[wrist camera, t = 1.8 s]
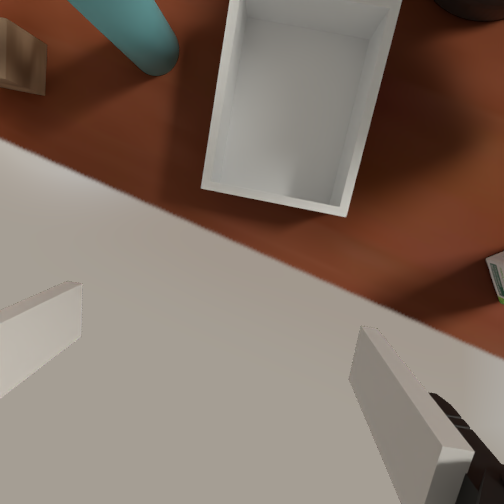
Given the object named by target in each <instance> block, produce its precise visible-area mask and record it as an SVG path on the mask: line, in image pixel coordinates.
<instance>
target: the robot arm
mask: <svg viewBox="0 0 504 504" xmlns="http://www.w3.org/2000/svg"><path fill="white" fill-rule="evenodd" d="M434 1H435V2H436V3H437V4H438V5H440V6H441V7H442V8H443V9H445V10H446V11H448V12H450V13H452V14H454V15H456V16H458V17H461V18H464V19H468V20H474V21H493V20H499V19H504V0H434ZM82 291H83V283H77V282H70V281H66V282H63V283H61V284H59V285H57V286H54V287H52V288H50V289H47V290H45V291H43V292H40V293H38V294H36V295H34V296H31V297H29V298H27V299H24V300H22V301H20V302H18V303H15V304H13V305H11V306H8V307H6V308H4V309H1V310H0V399H1V398H2V397H3V396H4V395H5V394H7V393H8V392H10V391H11V390H12V389H13V388H15V387H16V386H18V385H19V384H20V383H21V382H23V381H24V380H25V379H27V378H28V377H29V376H30V375H32V374H33V373H35V372H36V371H37V370H38V369H40V368H41V367H42V366H44V365H45V364H46V363H48V362H49V361H50V360H52V359H53V358H54V357H56V356H57V355H58V354H59V353H61V352H62V351H63V350H65V349H66V348H67V347H68V346H70V345H71V344H72V343H74V342H75V341H76V340H78V339H79V338H80V337H81V335H82ZM349 381H350V383H351V386H352V388H353V390H354V393H355V395H356V398H357V400H358V402H359V405H360V407H361V410H362V412H363V414H364V417H365V419H366V421H367V424H368V426H369V428H370V431H371V433H372V436H373V438H374V440H375V443H376V445H377V448H378V450H379V452H380V455H381V457H382V460H383V462H384V464H385V467H386V469H387V471H388V474H389V476H390V479H391V481H392V483H393V486H394V488H395V490H396V493H397V495H398V498H399V500H400V502H401V504H504V465H503V464H501V463H500V462H499V461H498V460H497V458H496V457H495V456H494V455H493V454H492V452H491V451H490V450H489V449H488V448H487V447H486V446H485V444H484V443H483V442H482V441H481V440H480V439H479V437H478V436H477V435H476V434H475V433H474V431H473V430H470V427H469V425H468V424H467V423H466V422H465V421H464V420H463V419H461V416H460V415H459V414H458V413H457V411H456V410H455V409H454V408H453V407H452V406H451V405H450V404H449V403H448V402H446V401H445V400H444V399H443V398H441V397H440V396H438V395H437V394H435V393H428V392H427V391H426V389H425V388H424V387H423V385H422V384H421V383H420V382H419V380H418V379H417V378H416V377H415V375H414V374H413V373H412V372H411V370H410V369H409V368H408V366H407V365H406V364H405V363H404V361H403V360H402V359H401V358H400V356H399V355H398V354H397V352H396V351H395V350H394V349H393V348H392V346H391V345H390V344H389V342H388V341H387V340H386V339H385V337H384V336H383V335H382V334H381V332H380V331H379V330H378V329H377V328H372V327H365V326H361V327H360V331H359V336H358V340H357V344H356V349H355V353H354V358H353V362H352V367H351V371H350V376H349Z"/></svg>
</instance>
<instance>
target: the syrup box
mask: <svg viewBox="0 0 504 504" xmlns="http://www.w3.org/2000/svg"><path fill="white" fill-rule="evenodd" d="M486 262H487V264H488V268H489V270H490V275H491V278H492V281H493V284H494V287H495V290H496V293H497V296H498V299H499V302H500V303H501V304H504V251H503V252H500V253H498V254H495V255H493V256H490V257H488V258H486Z"/></svg>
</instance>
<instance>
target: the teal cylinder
mask: <svg viewBox="0 0 504 504" xmlns="http://www.w3.org/2000/svg"><path fill="white" fill-rule="evenodd" d="M68 1H69V2H70V3H71V4H72V5H73V6H74V7H75V8H76V9H77V10H78V11H79V12H80V13H81V14H82V15H83V16H85V17H86V18H87V19H88V20H89V21H90V22H91V23H92V24H93V25H94V26H95V27H96V28H97V29H98V30H99V31H100V32H101V33H103V34H104V35H105V36H106V37H107V38H108V39H109V40H110V41H111V42H112V43H113V44H114V45H115V46H116V47H117V48H118V49H120V50H121V51H122V52H123V53H124V54H125V55H126V56H127V57H128V58H129V59H130V60H131V61H132V62H133V63H134V64H135V65H136V66H138V67H139V68H140V69H141V70H142V71H143V72H145V73H146V74H149V75H152V76H160V75H164V74H166V73H168V72H169V71H170V70H171V69H172V68H173V67H174V66H175V64H176V62H177V60H178V56H179V44H178V40H177V38H176V36H175V34H174V32H173V30H172V29H171V27H170V26H169V24H168V22H167V21H166V19H165V17H164V16H163V14H162V12H161V11H160V9H159V7H158V6H157V4H156V3H155V1H154V0H68Z"/></svg>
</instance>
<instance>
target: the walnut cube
mask: <svg viewBox="0 0 504 504" xmlns="http://www.w3.org/2000/svg"><path fill="white" fill-rule="evenodd" d="M46 63H47V45H46V44H45V43H43V42H42V41H40V40H39V39H37V38H36V37H34V36H33V35H31V34H30V33H28V32H27V31H25V30H23V29H22V28H20V27H19V26H17V25H16V24H14V23H13V22H11V21H10V20H8V19H7V18H1V17H0V87H2V88H7V89H12V90H17V91H22V92H28V93H33V94H38V95H43V96H45V85H46Z"/></svg>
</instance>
